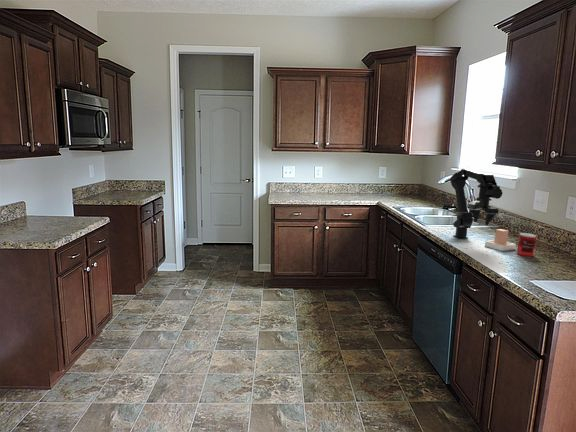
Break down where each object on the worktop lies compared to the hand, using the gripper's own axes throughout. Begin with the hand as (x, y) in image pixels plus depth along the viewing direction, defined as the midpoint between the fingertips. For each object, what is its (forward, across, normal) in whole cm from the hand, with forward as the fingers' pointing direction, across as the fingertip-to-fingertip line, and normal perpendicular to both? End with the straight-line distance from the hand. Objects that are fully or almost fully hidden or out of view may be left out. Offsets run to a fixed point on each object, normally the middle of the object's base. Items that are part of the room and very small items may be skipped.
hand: (480, 223), depth 238 cm
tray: (+12, +8, +8) cm, 16 cm away
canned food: (+13, +22, +12) cm, 28 cm away
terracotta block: (+12, +8, +8) cm, 16 cm away
